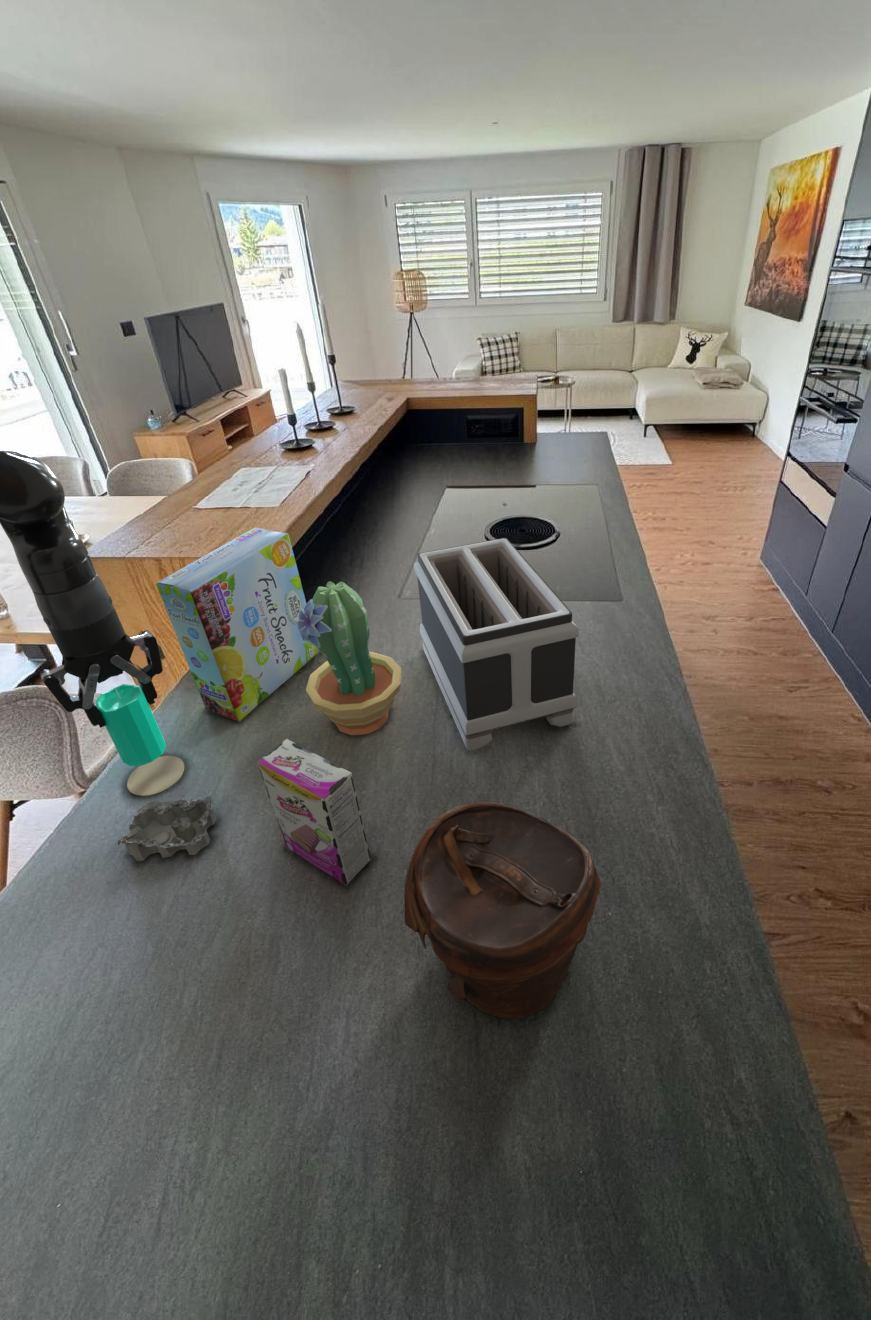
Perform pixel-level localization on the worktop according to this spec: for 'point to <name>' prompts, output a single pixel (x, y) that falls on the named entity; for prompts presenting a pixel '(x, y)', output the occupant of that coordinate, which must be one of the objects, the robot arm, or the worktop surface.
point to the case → (501, 904)
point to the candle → (131, 724)
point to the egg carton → (169, 828)
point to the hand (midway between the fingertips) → (126, 712)
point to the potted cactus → (347, 662)
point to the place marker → (155, 776)
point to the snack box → (239, 620)
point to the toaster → (495, 639)
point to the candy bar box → (316, 810)
